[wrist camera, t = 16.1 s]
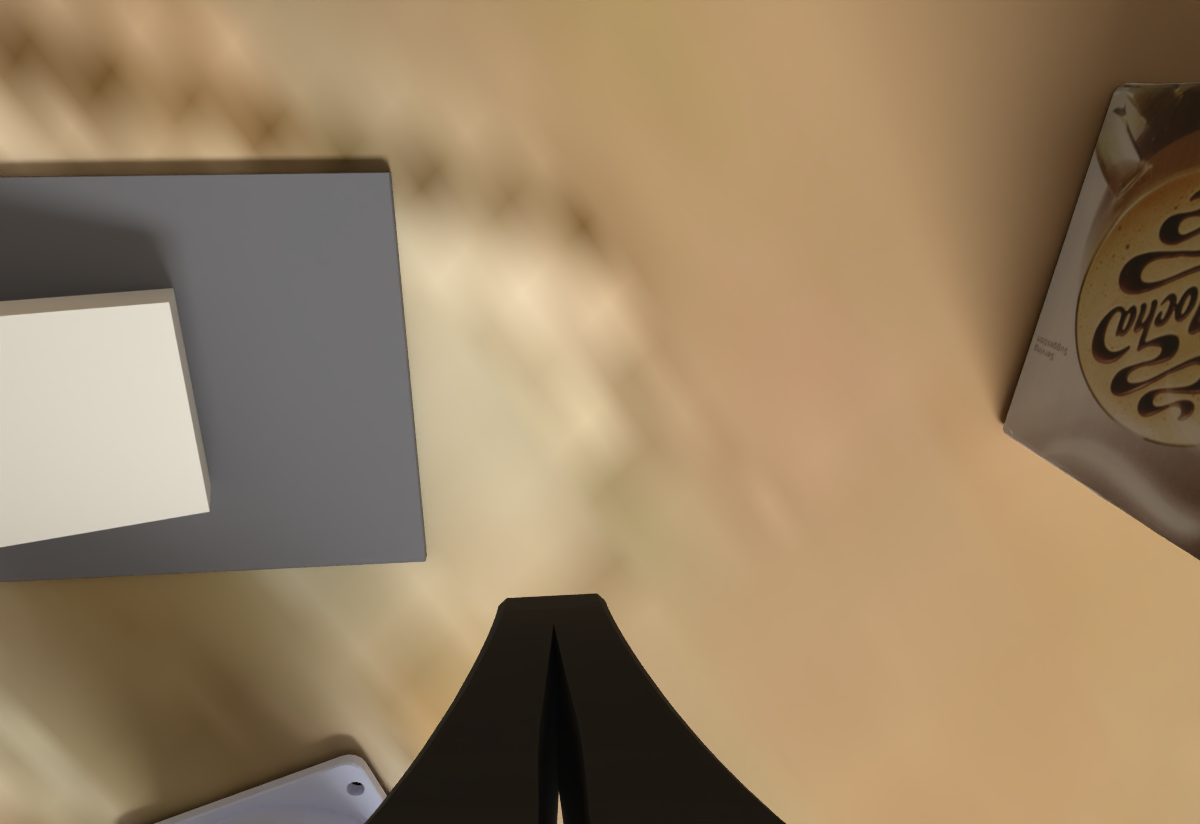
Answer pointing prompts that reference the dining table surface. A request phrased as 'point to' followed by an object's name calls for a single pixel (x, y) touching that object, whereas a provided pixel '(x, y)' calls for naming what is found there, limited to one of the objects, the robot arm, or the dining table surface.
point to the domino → (96, 416)
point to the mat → (245, 360)
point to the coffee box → (1127, 321)
